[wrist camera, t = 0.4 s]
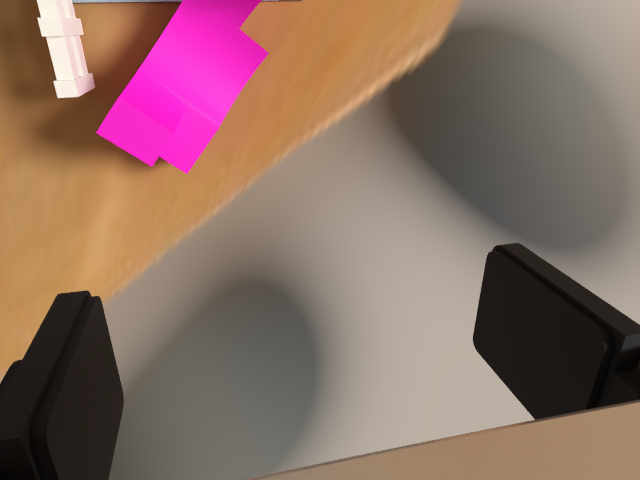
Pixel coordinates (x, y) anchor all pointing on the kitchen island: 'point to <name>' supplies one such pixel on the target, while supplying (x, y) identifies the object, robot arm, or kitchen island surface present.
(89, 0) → the mat
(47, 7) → the fixed panel and post
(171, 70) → the toy block
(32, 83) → the kitchen island surface
